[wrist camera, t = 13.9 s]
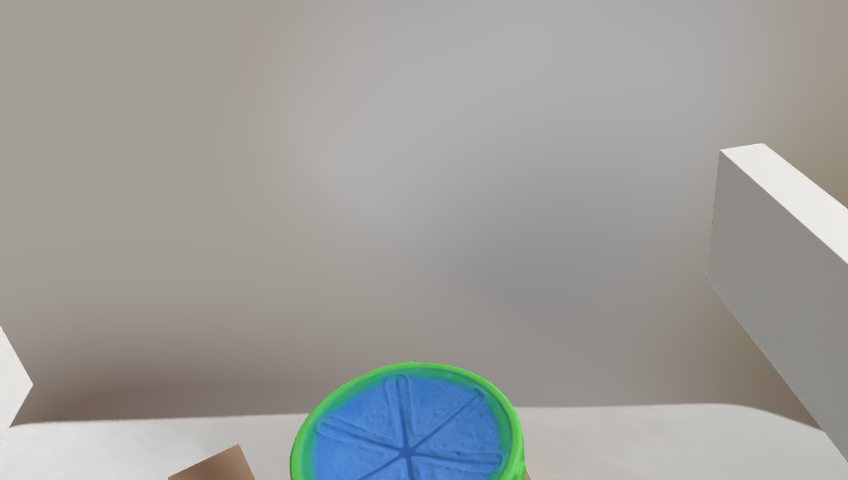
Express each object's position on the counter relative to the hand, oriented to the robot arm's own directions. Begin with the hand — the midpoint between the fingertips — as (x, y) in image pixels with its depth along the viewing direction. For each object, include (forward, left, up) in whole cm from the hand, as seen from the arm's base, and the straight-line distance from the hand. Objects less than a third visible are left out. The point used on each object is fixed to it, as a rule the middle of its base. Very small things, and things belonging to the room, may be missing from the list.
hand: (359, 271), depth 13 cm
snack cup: (-1, -12, -27) cm, 30 cm away
